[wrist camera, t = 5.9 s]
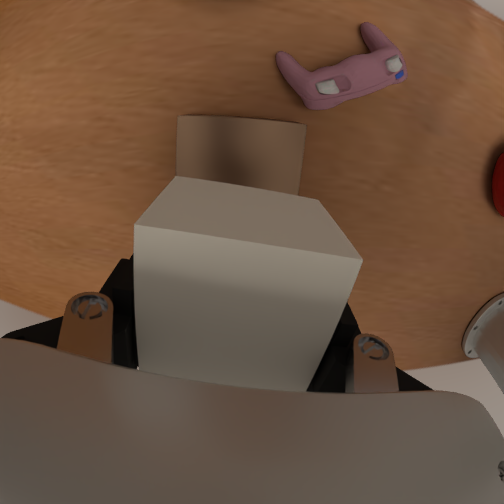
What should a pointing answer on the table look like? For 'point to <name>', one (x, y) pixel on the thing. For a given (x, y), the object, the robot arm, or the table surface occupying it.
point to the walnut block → (241, 151)
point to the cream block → (238, 284)
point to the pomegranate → (499, 185)
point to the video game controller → (347, 73)
